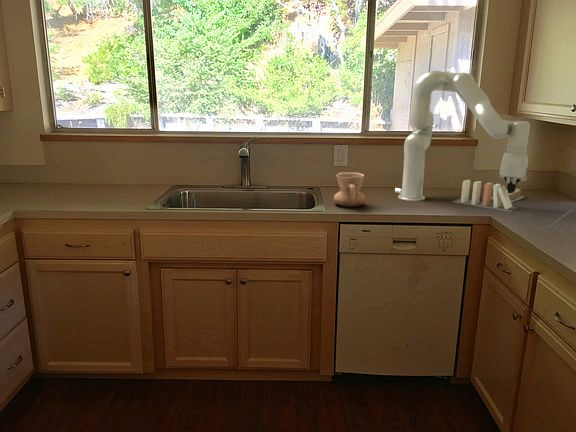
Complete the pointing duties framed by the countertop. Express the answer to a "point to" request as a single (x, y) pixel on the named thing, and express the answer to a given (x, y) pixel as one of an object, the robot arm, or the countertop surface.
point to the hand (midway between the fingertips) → (510, 192)
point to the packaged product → (514, 195)
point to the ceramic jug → (350, 189)
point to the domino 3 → (487, 194)
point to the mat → (485, 206)
